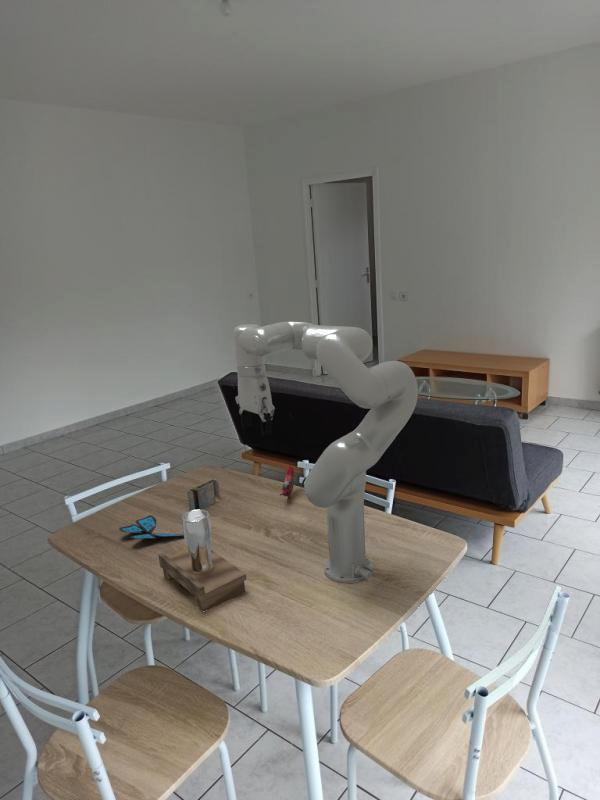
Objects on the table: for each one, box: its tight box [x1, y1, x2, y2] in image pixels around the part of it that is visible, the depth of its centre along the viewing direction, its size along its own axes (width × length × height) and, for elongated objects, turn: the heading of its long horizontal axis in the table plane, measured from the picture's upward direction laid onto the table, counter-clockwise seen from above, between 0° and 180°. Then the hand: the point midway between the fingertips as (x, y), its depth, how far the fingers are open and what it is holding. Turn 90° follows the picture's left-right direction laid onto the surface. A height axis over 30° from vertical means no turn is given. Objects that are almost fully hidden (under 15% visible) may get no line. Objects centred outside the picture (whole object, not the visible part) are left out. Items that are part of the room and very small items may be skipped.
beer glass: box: [181, 508, 214, 574], centre depth 148 cm, size 7×7×15 cm
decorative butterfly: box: [119, 515, 184, 540], centre depth 179 cm, size 20×14×3 cm
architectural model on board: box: [186, 478, 221, 511], centre depth 196 cm, size 11×3×10 cm, turn 139°
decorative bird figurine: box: [279, 465, 295, 501], centre depth 195 cm, size 3×18×10 cm, turn 167°
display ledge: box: [157, 548, 248, 612], centre depth 151 cm, size 22×13×7 cm, turn 39°
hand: (256, 430), depth 162 cm, fingers open, 9 cm apart
